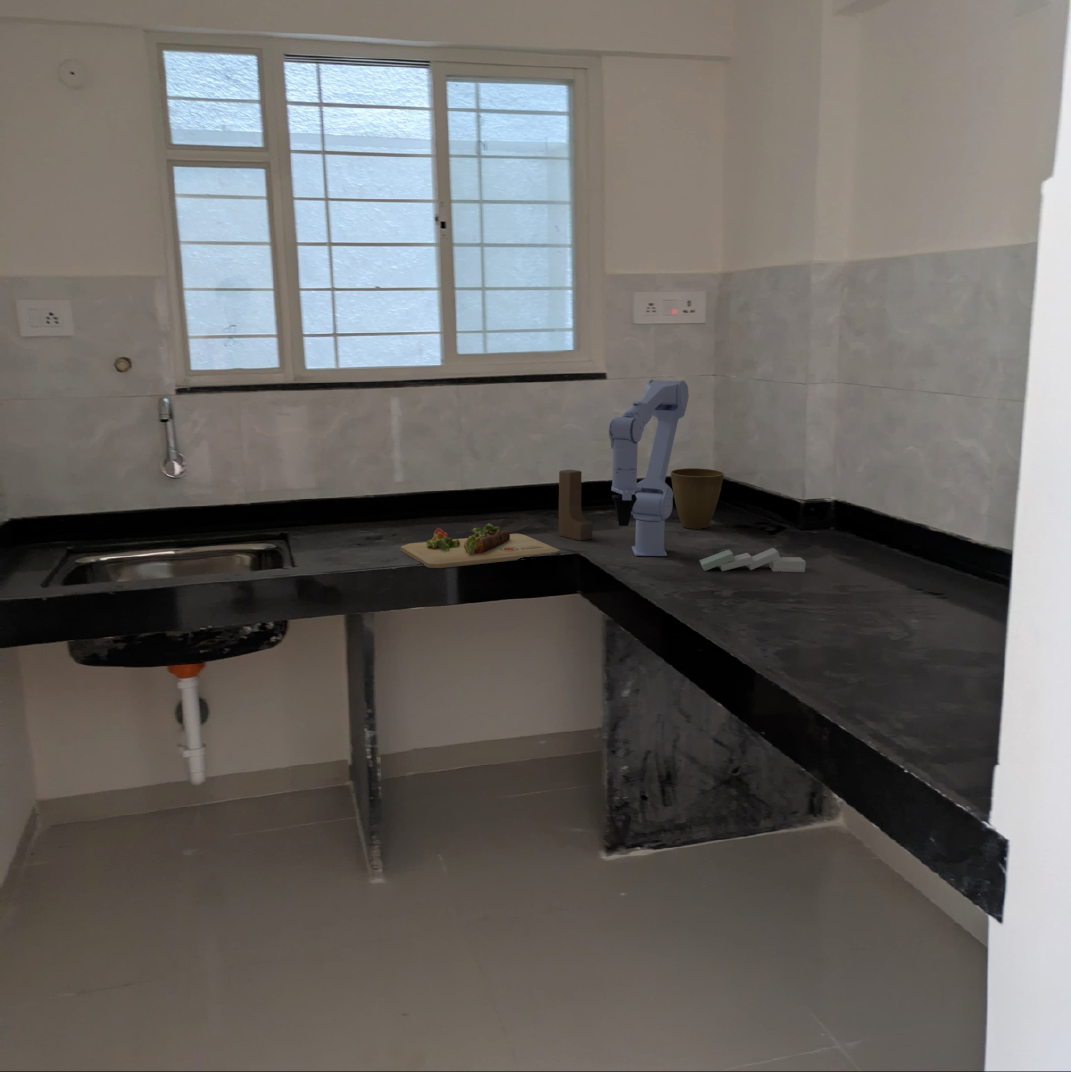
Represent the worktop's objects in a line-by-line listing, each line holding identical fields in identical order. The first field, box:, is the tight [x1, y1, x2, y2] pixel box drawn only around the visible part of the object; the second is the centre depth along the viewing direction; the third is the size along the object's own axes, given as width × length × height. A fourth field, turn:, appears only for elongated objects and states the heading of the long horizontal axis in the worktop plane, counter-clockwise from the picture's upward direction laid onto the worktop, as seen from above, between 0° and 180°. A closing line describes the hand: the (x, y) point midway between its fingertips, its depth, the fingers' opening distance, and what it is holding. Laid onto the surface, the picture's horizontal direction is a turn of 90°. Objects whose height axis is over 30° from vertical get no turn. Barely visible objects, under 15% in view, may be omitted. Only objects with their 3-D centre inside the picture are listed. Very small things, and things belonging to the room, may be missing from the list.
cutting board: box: [400, 523, 561, 569], centre depth 248 cm, size 35×23×8 cm
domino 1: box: [698, 548, 735, 572], centre depth 232 cm, size 4×2×8 cm
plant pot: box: [670, 467, 725, 530], centre depth 280 cm, size 15×15×16 cm
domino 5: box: [768, 564, 806, 573], centre depth 233 cm, size 4×2×8 cm
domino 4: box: [768, 556, 807, 569], centre depth 233 cm, size 4×2×8 cm
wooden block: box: [558, 469, 593, 542], centre depth 265 cm, size 9×4×18 cm, turn 41°
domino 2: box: [717, 552, 753, 572], centre depth 233 cm, size 4×2×8 cm
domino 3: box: [745, 547, 781, 571], centre depth 233 cm, size 4×2×8 cm
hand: (623, 525), depth 233 cm, fingers closed
